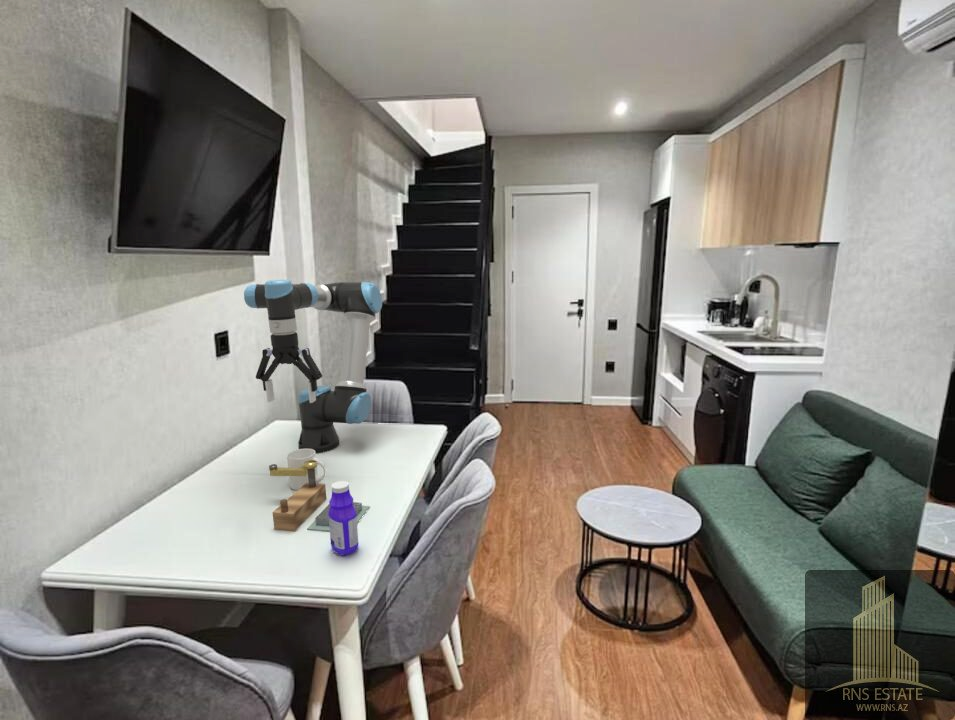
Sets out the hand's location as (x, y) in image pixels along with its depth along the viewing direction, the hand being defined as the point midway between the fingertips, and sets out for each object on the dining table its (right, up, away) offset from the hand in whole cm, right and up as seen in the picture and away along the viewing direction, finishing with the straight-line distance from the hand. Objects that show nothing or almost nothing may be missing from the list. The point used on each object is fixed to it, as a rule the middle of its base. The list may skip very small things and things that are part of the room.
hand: (291, 401), depth 153 cm
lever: (+3, -21, -6) cm, 22 cm away
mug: (+3, -28, +7) cm, 29 cm away
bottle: (+24, -34, -29) cm, 51 cm away
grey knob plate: (+19, -31, -14) cm, 39 cm away
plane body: (+7, -31, -11) cm, 34 cm away
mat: (+19, -31, -14) cm, 39 cm away
